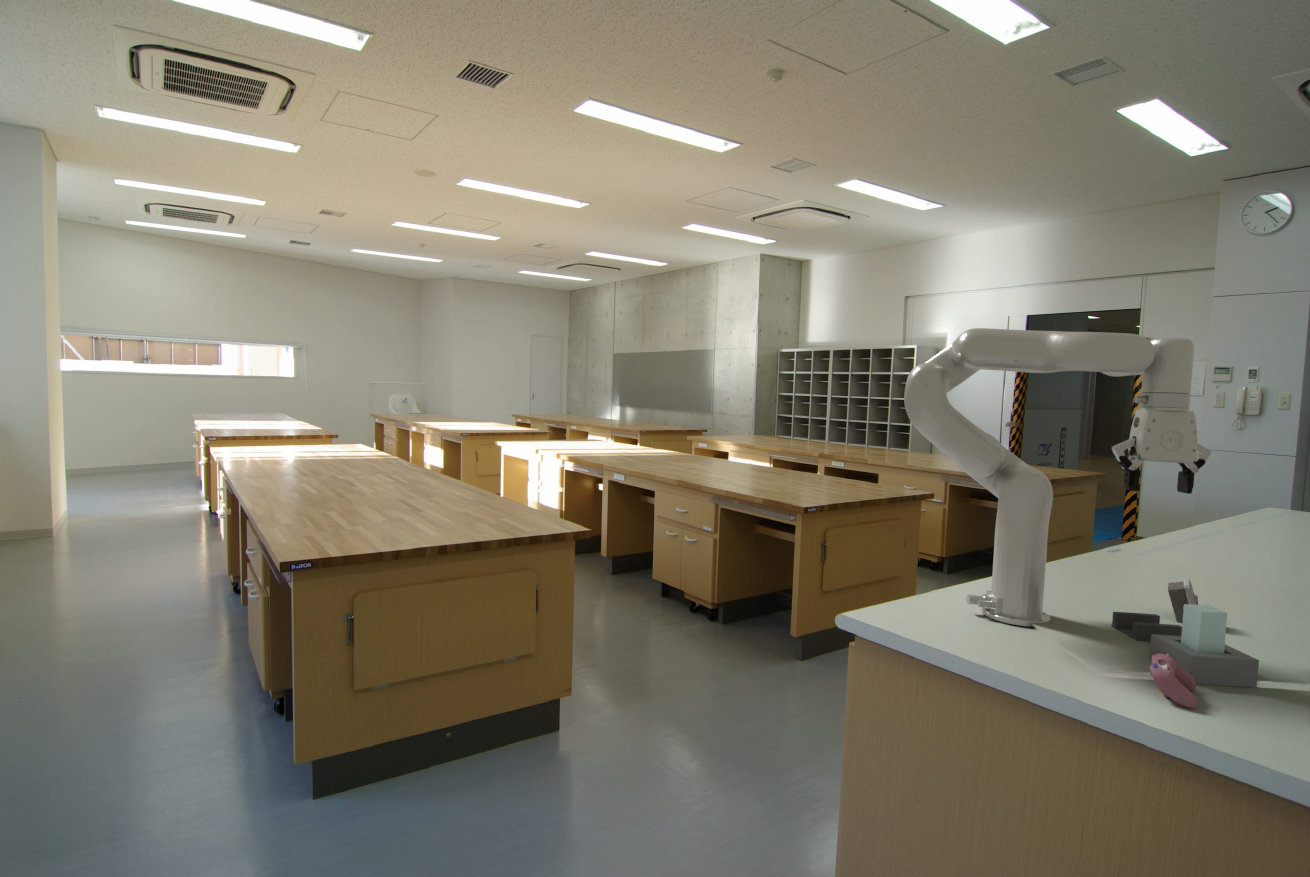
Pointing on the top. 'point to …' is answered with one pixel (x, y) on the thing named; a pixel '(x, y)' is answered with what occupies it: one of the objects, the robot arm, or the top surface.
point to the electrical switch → (1181, 597)
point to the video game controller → (1173, 680)
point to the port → (1209, 663)
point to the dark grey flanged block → (1143, 625)
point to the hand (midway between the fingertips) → (1157, 491)
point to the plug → (1204, 628)
